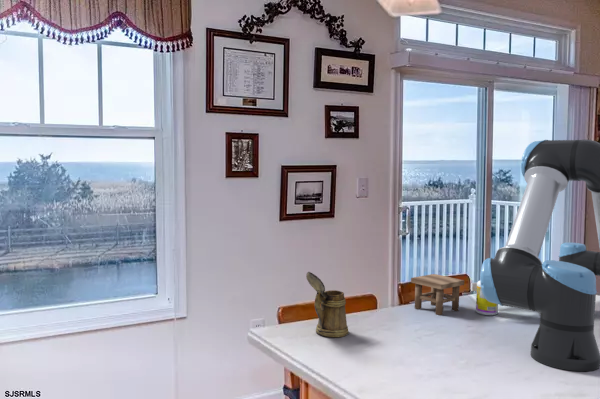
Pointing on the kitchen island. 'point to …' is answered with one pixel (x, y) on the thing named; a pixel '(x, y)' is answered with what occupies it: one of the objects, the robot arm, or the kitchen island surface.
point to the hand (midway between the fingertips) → (481, 291)
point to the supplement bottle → (484, 303)
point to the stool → (437, 291)
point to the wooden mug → (329, 309)
